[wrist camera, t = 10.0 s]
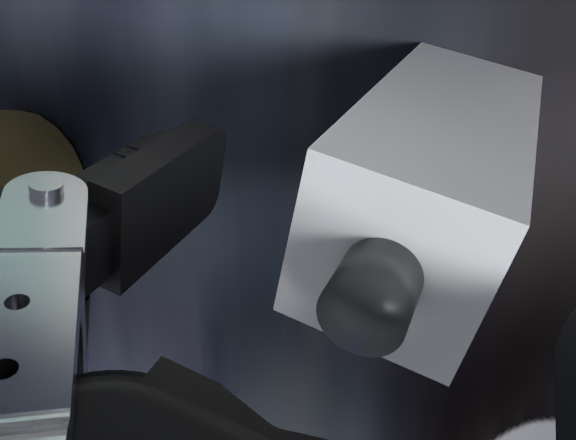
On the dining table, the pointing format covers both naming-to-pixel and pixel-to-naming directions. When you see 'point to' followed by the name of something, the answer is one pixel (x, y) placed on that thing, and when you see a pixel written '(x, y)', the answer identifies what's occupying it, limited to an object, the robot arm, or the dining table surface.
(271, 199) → the dining table surface
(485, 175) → the plug
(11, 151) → the squeeze bottle
